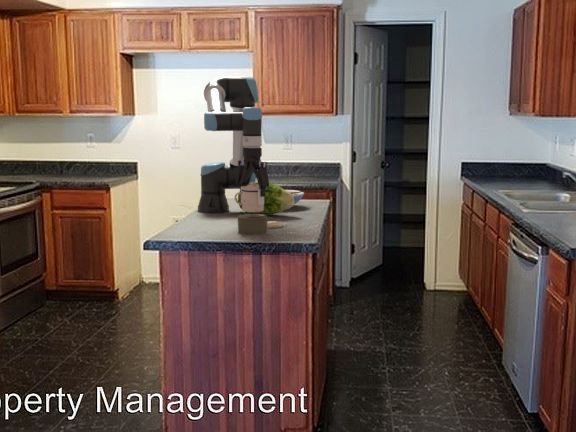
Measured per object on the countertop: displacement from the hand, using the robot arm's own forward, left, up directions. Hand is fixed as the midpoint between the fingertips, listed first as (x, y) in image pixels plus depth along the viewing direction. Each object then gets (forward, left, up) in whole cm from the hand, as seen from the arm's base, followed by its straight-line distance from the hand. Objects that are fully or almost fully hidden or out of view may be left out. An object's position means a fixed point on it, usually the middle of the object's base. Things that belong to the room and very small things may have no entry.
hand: (252, 203), depth 248 cm
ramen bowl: (-36, +57, -12) cm, 68 cm away
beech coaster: (-4, +15, -12) cm, 19 cm away
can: (0, 0, -12) cm, 12 cm away
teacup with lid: (-1, 0, -3) cm, 3 cm away
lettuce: (-24, +33, -12) cm, 43 cm away
